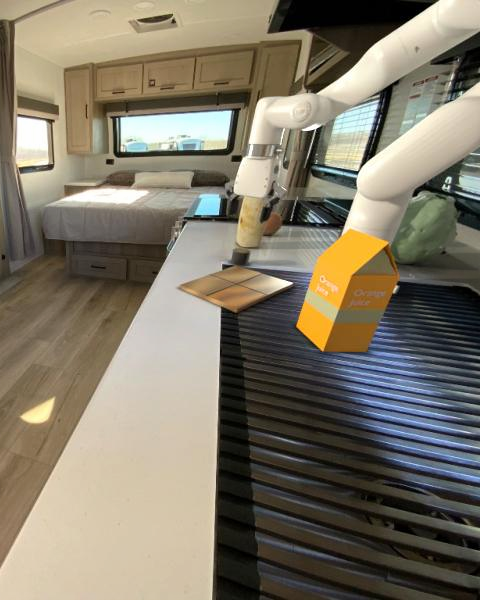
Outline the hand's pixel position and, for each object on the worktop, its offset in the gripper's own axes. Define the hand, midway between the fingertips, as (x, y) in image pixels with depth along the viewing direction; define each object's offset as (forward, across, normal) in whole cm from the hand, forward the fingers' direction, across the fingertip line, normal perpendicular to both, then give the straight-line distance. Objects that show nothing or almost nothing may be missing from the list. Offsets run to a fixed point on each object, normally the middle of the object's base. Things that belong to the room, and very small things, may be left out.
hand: (247, 217), depth 94 cm
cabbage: (+13, -29, -39) cm, 50 cm away
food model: (+14, +8, -18) cm, 24 cm away
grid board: (+14, -11, +17) cm, 24 cm away
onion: (+14, +12, -37) cm, 41 cm away
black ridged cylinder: (+14, -1, 0) cm, 14 cm away
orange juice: (+13, -35, +24) cm, 44 cm away
